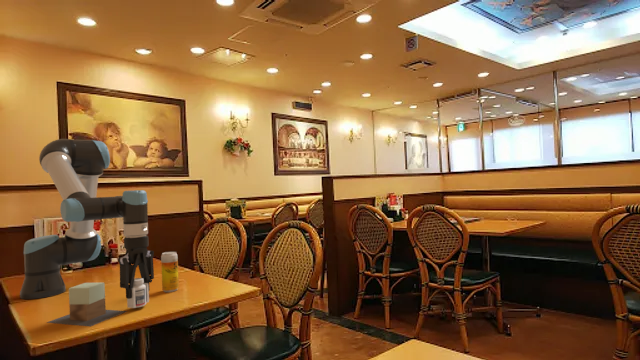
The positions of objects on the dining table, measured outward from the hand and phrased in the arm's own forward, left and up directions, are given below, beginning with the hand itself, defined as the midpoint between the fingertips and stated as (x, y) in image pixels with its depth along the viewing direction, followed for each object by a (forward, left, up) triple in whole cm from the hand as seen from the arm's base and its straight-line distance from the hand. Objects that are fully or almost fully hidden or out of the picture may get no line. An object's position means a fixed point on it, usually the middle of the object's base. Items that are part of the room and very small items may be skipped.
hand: (138, 304), depth 131 cm
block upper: (-11, -10, +4) cm, 15 cm away
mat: (-11, -10, -2) cm, 15 cm away
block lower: (-11, -10, -1) cm, 15 cm away
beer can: (-6, +23, -2) cm, 24 cm away
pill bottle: (0, 0, 0) cm, 1 cm away
